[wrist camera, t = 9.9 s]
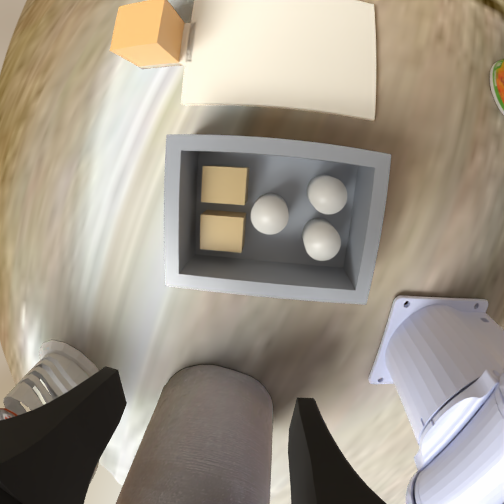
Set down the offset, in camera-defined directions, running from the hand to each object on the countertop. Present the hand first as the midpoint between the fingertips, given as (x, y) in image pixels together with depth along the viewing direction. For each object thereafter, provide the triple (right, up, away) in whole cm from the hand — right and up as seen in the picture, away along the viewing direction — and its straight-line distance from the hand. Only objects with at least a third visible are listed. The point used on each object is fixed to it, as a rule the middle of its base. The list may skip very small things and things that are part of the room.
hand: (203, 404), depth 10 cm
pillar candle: (-1, -7, +13) cm, 15 cm away
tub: (+3, +9, +8) cm, 12 cm away
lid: (+2, +19, +5) cm, 19 cm away
